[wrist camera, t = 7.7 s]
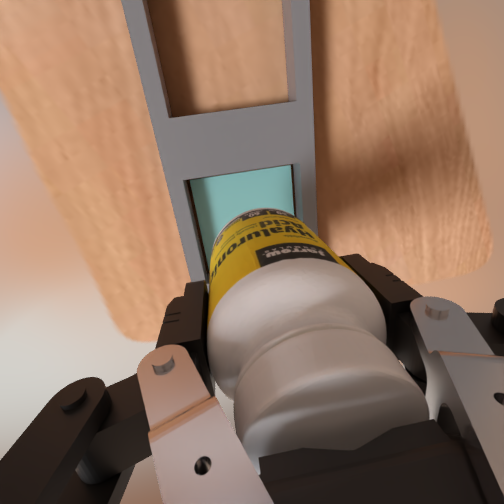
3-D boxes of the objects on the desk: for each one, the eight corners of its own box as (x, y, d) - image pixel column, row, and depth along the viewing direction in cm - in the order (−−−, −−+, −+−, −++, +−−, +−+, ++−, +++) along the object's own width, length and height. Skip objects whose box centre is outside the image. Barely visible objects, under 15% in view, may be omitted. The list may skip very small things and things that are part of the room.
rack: (112, -62, 14) (99, -89, 12) (295, -79, 15) (305, -107, 13) (196, 286, 22) (195, 298, 20) (311, 265, 23) (319, 276, 21)
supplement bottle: (293, 187, 13) (460, 290, 4) (323, 277, 15) (474, 470, 6) (191, 230, 13) (146, 416, 4) (234, 313, 16) (262, 551, 7)
